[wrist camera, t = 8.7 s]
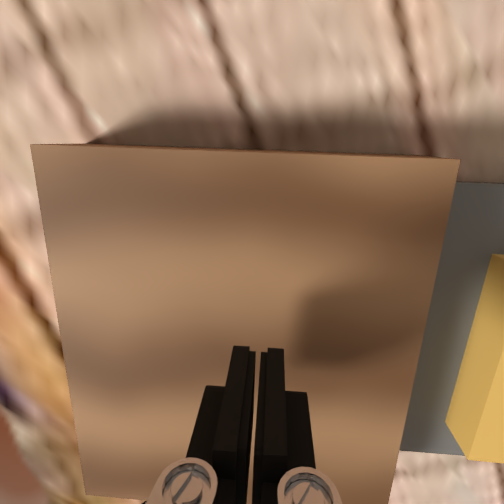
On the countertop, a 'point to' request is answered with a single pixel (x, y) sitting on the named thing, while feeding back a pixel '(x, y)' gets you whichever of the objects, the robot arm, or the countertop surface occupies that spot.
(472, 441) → the yellow block
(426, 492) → the countertop surface
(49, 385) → the countertop surface
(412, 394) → the mat
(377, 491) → the brown wooden block
